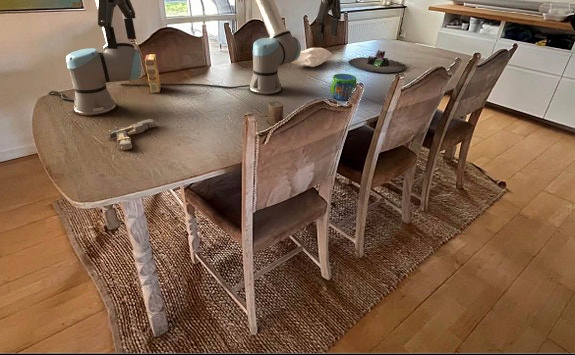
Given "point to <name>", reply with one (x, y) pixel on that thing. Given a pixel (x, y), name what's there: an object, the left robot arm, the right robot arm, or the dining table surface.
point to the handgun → (129, 132)
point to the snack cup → (343, 86)
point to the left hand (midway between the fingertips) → (122, 43)
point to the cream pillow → (312, 57)
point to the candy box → (152, 73)
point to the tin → (275, 112)
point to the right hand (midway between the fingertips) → (327, 37)
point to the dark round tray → (377, 63)
